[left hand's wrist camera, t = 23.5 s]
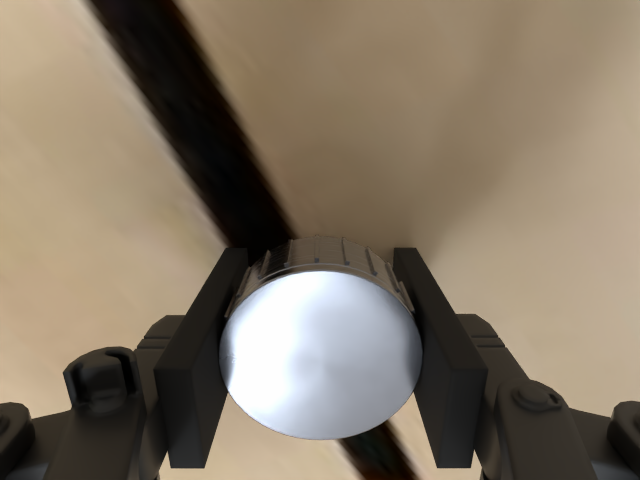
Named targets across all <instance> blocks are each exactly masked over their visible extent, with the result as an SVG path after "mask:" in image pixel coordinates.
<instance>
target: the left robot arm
mask: <svg viewBox="0 0 640 480" xmlns="http://www.w3.org/2000/svg"><path fill="white" fill-rule="evenodd" d="M248 267H249V266H248V251H247V248H226V249H225V250H224V252H223V254H222V255H221V257H220V259H219V260H218V262H217V264H216V265H215V267H214V269H213V270H212V272H211V274H210V275H209V277H208V279H207V280H206V282H205V284H204V285H203V287H202V289H201V290H200V292H199V294H198V295H197V297H196V299H195V300H194V302H193V304H192V305H191V307H190V309H189V310H188V312H187V314H186V315H166V316H165V317H163V318H162V319H160V320H159V321H158V322H156V323H155V324H153V325H152V326H151V328H150V329H149V330H148V332H147V333H146V335H145V336H144V339H142V340H141V342H140V343H139V344H138V346H137V349H135V350H134V351H132V350H131V349H128V348H124V347H106V348H102V349H97V350H94V351H91V352H89V353H87V354H84V355H82V356H80V357H79V358H77V359H76V360H74V361H73V362H72V363H70V364H69V365H68V366H67V368H66V369H65V370H64V372H63V375H64V379H65V383H66V386H67V390H68V393H69V397H70V401H71V404H72V408H71V410H68V411H65V412H61V413H57V414H52V415H48V416H43V417H39V418H34V419H31V416H30V413H29V410H28V408H27V407H25V406H24V405H23V404H20V403H13V402H9V403H2V404H0V480H160V476H159V469H160V467H161V465H162V462H163V460H164V458H165V455H166V453H167V451H168V455H169V461H170V466H171V468H205V464H206V461H207V458H208V455H209V452H210V448H211V445H212V442H213V439H214V435H215V432H216V429H217V426H218V422H219V419H220V416H221V413H222V410H223V406H224V403H225V400H226V397H227V393H228V390H227V388H226V386H225V385H224V382H223V379H222V376H221V373H220V368H219V361H218V347H219V339H220V336H221V333H222V329H223V326H224V324H225V322H226V320H224V319H223V318H224V315H225V313H226V311H227V308H228V306H229V303H230V301H231V299H232V296H233V294H234V291H235V289H236V287H240V285H241V282H242V280H243V277H244V275H245V272H246V270H247V268H248ZM393 272H394V274H395V275H396V277H397V278H398V280H399V282H401V281H402V282H403V284H404V286H405V289H406V291H407V293H408V296H409V298H410V300H411V303H412V305H413V307H414V310H415V312H416V313H414V314H413V315H414V318H415V320H416V323H417V325H418V327H419V331H420V334H421V337H422V343H423V365H422V370H421V374H420V377H419V380H418V383H417V385H416V387H415V389H414V395H415V398H416V401H417V404H418V408H419V411H420V414H421V417H422V421H423V424H424V427H425V430H426V434H427V437H428V440H429V443H430V446H431V450H432V453H433V456H434V459H435V463H436V466H437V468H471V464H472V458H473V453H474V450H475V452H476V454H477V457H478V459H479V461H480V464H481V466H482V471H481V476H480V480H640V402H636V401H627V402H620V403H619V404H618V405H617V406H615V407H614V410H613V413H612V416H611V418H610V417H605V416H601V415H596V414H592V413H587V412H583V411H579V410H575V409H572V408H569V407H568V405H567V404H566V402H565V401H564V399H563V398H562V396H560V395H559V394H558V393H557V392H555V391H554V390H553V389H552V388H550V387H548V386H546V385H544V384H542V383H540V382H537V381H534V380H530V379H529V378H528V376H527V375H526V374H525V372H524V371H523V369H522V368H521V367H520V365H519V364H518V363H517V361H516V360H515V358H514V357H513V356H512V354H511V353H510V351H509V350H508V349H507V348H505V345H504V343H503V342H502V340H501V339H500V338H498V335H497V333H496V332H495V331H494V329H493V328H492V326H491V325H490V324H489V323H488V322H486V321H485V320H483V319H482V318H480V317H479V316H477V315H476V314H455V312H454V311H453V309H452V307H451V306H450V304H449V302H448V301H447V299H446V297H445V296H444V294H443V292H442V291H441V289H440V287H439V286H438V284H437V282H436V281H435V279H434V277H433V276H432V274H431V272H430V271H429V269H428V267H427V266H426V264H425V262H424V261H423V259H422V257H421V256H420V254H419V252H418V251H417V249H416V248H394V262H393Z"/></svg>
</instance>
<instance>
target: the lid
mask: <svg viewBox="0 0 640 480" xmlns="http://www.w3.org/2000/svg"><path fill="white" fill-rule="evenodd" d="M414 313H416V312H415V310H414V307H413V305H412V303H411V300H410V298H409V296H408V293H407V291H406V289H405V286H404V284H403V282H402V281H401V282H399V280H398V278H397V277H396V275H395V274H394V272H393V270H392V267H391V265H390V263H389V262H387V263H386V262H385V261H384V260H382V259H381V258H380V257H379V256H378V255H376V254H375V253H374V252H372V251H371V248H369V247H367V248H365V247H363V246H361V245H359V244H357V243H354V242H351V241H348V240H346V238H344V237H342V239H340V238H335V237H322V236H319V235H315V237H307V238H301V239H296V240H292V239H290V240H288V242H287V243H284V244H282V245H280V246H278V247H276V248H274V249H272V250H271V251H268V250H267V251H265V253H264V255H263V256H262V257H261V258H260V259H259V260H258V261H256V263H255V264H254V265H253V266H252V267H251V268H250V267H248V268H247V270H246V272H245V275H244V277H243V280H242V282H241V285H240V287H236V289H235V291H234V294H233V296H232V299H231V301H230V303H229V306H228V308H227V311H226V313H225V315H224V318H223V319H224V320H226V322H225V324H224V326H223V329H222V333H221V336H220V339H219V347H218V361H219V368H220V373H221V376H222V379H223V382H224V385H225V386H226V388H227V390H228V392H229V394H230V395H231V397H232V398H233V400H234V401H235V402H236V404H237V405H238V406H239V407H240V408H241V409H242V410H243V411H244V412H245V413H246V414H248V415H249V416H250V417H251V418H252V419H254V420H255V421H257V422H258V423H260V424H262V425H263V426H265V427H267V428H269V429H271V430H273V431H276V432H279V433H281V434H284V435H288V436H292V437H296V438H302V439H309V440H331V439H339V438H345V437H349V436H353V435H357V434H360V433H362V432H365V431H368V430H370V429H372V428H374V427H376V426H378V425H380V424H381V423H383V422H384V421H386V420H387V419H389V418H390V417H391V416H392V415H394V414H395V413H396V412H397V411H398V410H399V409H400V408H401V407H402V406H403V405H404V404H405V403H406V401H407V400H408V399H409V397H410V396H411V394H412V393H413V391H414V389H415V387H416V385H417V383H418V380H419V377H420V374H421V370H422V365H423V343H422V337H421V334H420V331H419V327H418V325H417V323H416V320H415V318H414V315H413V314H414Z"/></svg>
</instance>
